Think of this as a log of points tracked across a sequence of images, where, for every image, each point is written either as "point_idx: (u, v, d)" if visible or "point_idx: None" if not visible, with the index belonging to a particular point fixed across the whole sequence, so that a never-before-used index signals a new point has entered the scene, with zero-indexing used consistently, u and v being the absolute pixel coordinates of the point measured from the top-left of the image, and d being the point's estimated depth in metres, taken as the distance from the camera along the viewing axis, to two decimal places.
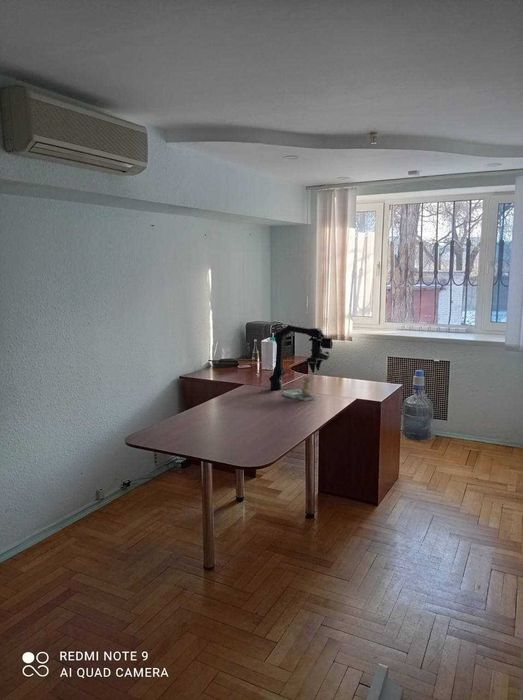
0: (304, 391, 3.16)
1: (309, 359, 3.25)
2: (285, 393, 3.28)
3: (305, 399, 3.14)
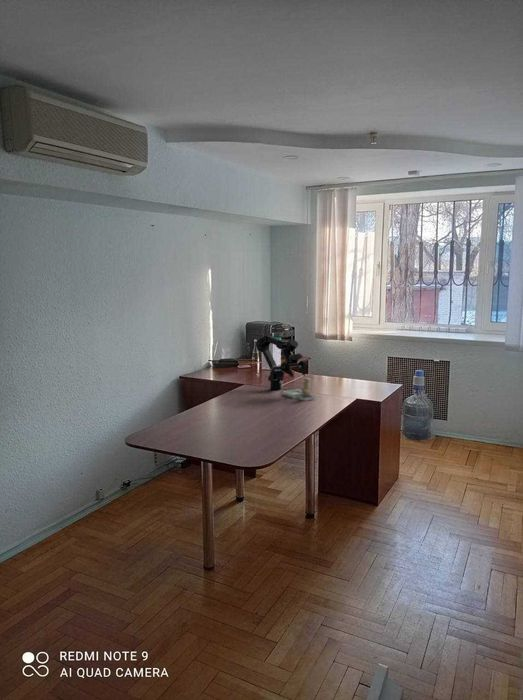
0: (304, 391, 3.16)
1: (280, 366, 3.25)
2: (285, 393, 3.28)
3: (305, 399, 3.14)
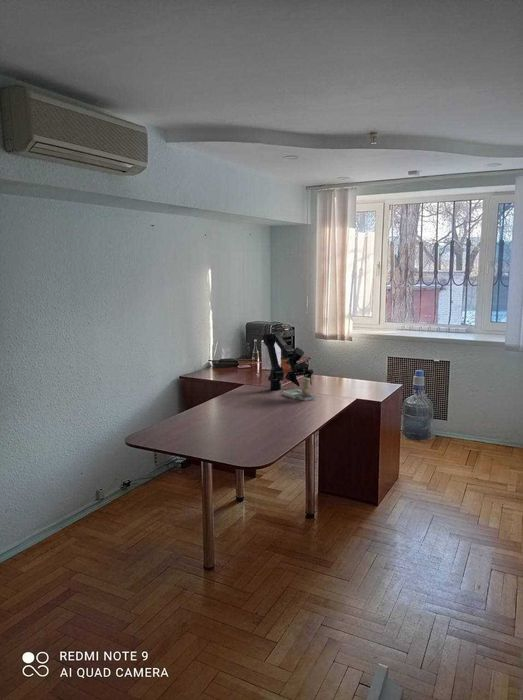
0: (304, 391, 3.16)
1: (286, 375, 3.19)
2: (285, 393, 3.28)
3: (305, 399, 3.14)
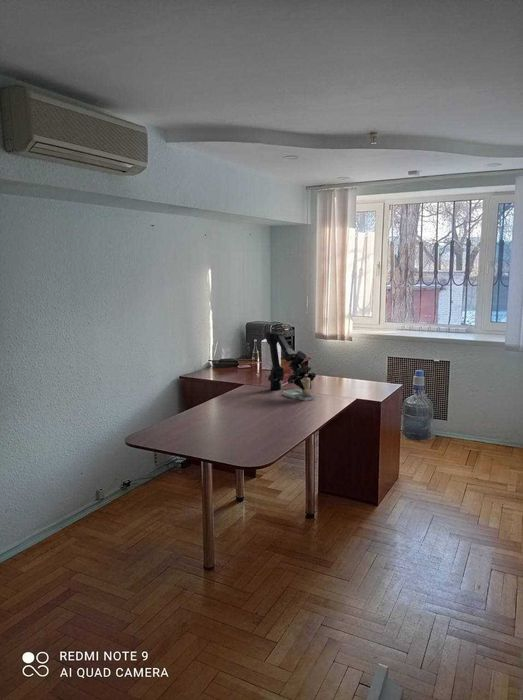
0: (304, 391, 3.16)
1: (288, 379, 3.18)
2: (285, 393, 3.28)
3: (305, 399, 3.14)
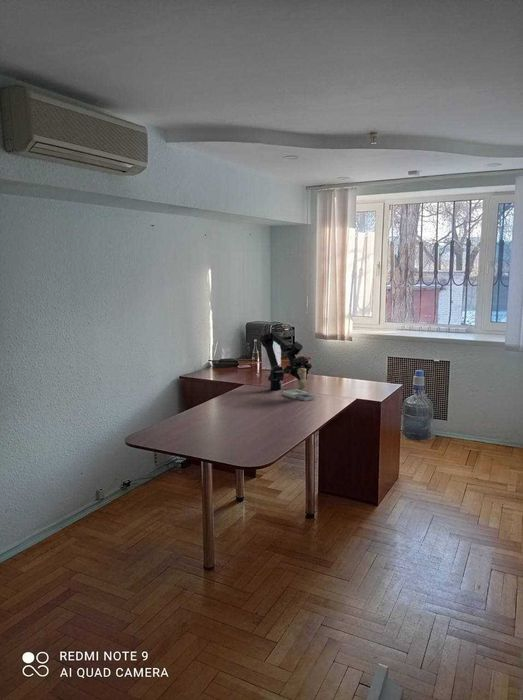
0: (299, 382, 3.19)
1: (284, 369, 3.21)
2: (285, 393, 3.28)
3: (305, 399, 3.14)
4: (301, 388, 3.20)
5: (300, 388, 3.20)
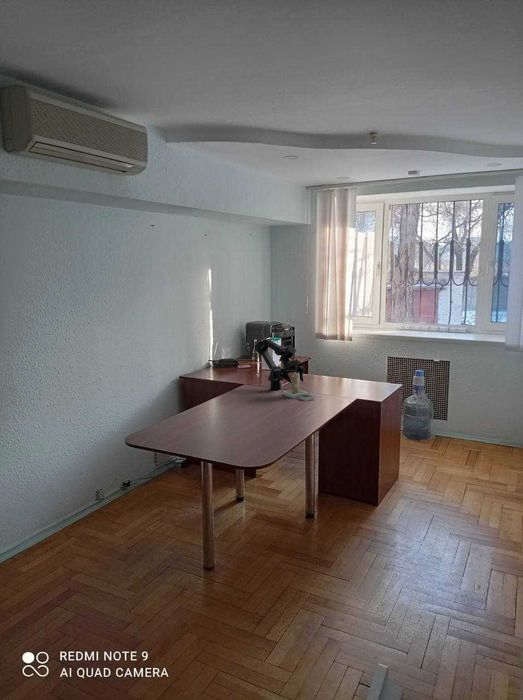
0: (293, 386, 3.26)
1: (278, 373, 3.27)
2: (285, 393, 3.28)
3: (305, 399, 3.14)
4: (295, 393, 3.26)
5: (294, 393, 3.26)
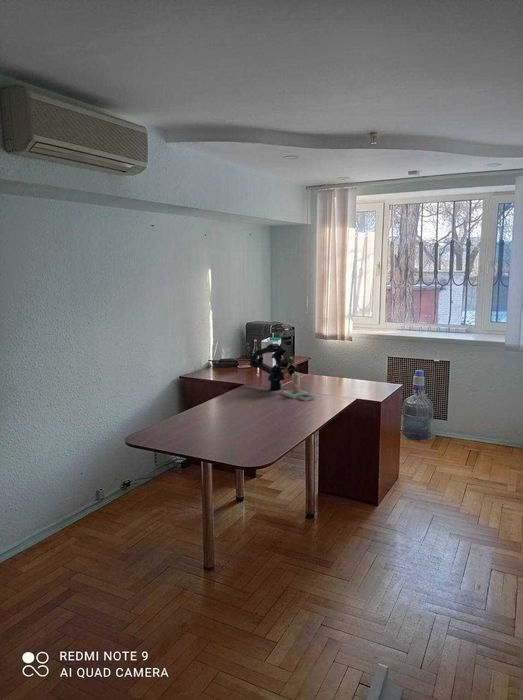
0: (293, 387, 3.26)
1: (271, 369, 3.33)
2: (285, 393, 3.28)
3: (305, 399, 3.14)
4: (295, 393, 3.26)
5: (294, 393, 3.26)
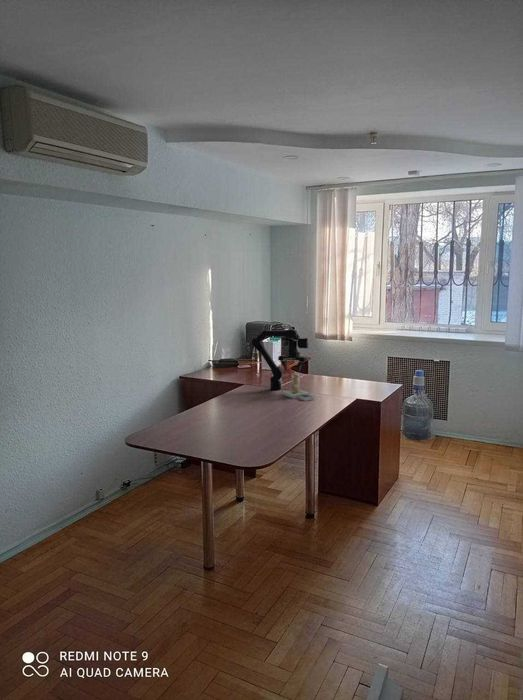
0: (293, 387, 3.26)
1: (305, 358, 3.37)
2: (285, 393, 3.28)
3: (305, 399, 3.14)
4: (295, 393, 3.26)
5: (294, 393, 3.26)
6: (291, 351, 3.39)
